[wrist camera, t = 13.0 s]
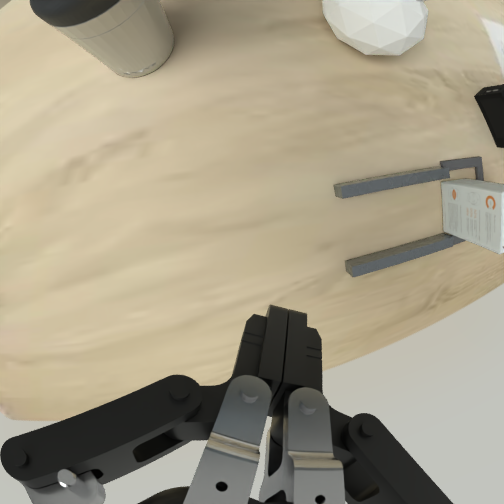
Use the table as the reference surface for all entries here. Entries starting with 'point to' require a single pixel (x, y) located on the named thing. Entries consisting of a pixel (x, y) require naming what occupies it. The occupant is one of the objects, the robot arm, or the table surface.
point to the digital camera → (493, 110)
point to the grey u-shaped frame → (404, 251)
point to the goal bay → (462, 164)
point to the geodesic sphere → (377, 24)
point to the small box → (474, 212)
